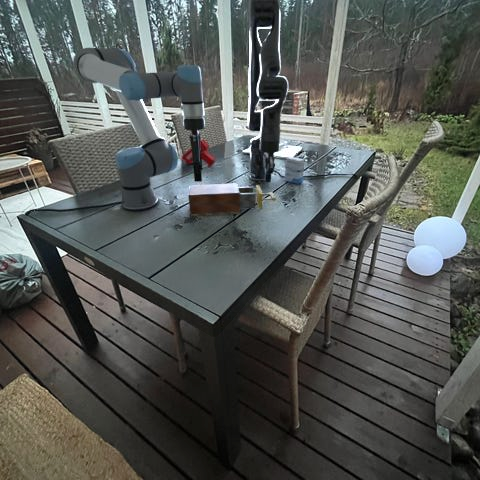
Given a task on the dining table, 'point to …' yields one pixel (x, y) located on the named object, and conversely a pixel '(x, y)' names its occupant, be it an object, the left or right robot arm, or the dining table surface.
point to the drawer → (252, 197)
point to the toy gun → (205, 155)
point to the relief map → (283, 150)
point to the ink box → (294, 170)
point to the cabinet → (214, 199)
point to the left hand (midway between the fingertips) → (198, 175)
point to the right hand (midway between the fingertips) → (267, 181)
